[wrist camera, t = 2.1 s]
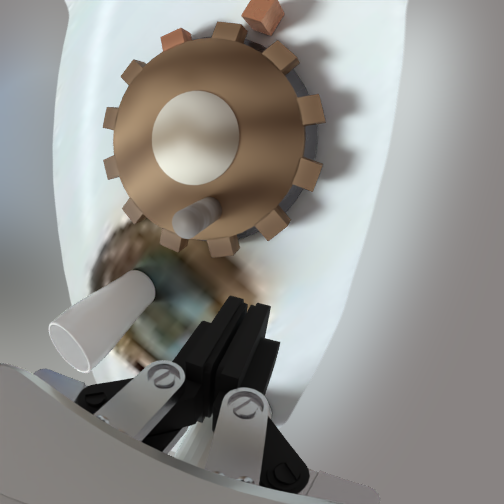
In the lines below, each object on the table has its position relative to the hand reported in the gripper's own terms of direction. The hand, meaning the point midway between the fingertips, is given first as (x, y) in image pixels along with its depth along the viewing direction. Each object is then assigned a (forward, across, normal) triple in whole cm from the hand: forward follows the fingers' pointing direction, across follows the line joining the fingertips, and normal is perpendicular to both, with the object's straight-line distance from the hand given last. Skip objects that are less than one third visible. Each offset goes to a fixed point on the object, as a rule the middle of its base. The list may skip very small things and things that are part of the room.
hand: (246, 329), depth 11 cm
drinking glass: (+19, +19, +14) cm, 30 cm away
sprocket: (+17, +11, -6) cm, 21 cm away
